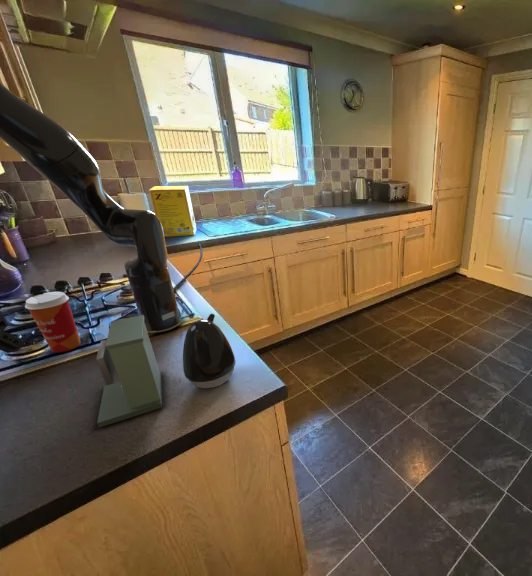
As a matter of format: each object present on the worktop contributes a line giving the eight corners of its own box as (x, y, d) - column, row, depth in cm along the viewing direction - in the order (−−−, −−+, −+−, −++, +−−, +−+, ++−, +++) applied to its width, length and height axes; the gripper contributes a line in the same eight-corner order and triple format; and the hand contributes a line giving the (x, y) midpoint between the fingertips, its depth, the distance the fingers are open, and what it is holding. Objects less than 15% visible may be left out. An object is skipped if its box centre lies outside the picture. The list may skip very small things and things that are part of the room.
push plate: (110, 365, 67) (100, 340, 64) (116, 364, 67) (107, 339, 65) (106, 385, 61) (96, 359, 59) (113, 383, 62) (103, 357, 60)
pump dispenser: (244, 365, 79) (235, 309, 73) (227, 395, 70) (214, 334, 64) (201, 365, 79) (188, 309, 73) (178, 395, 69) (160, 334, 63)
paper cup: (38, 350, 82) (15, 300, 76) (74, 335, 89) (54, 288, 83) (58, 358, 80) (35, 306, 74) (93, 342, 86) (74, 293, 81)
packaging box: (165, 230, 192) (154, 186, 182) (196, 228, 198) (187, 185, 188) (160, 237, 179) (148, 189, 168) (194, 235, 185) (184, 189, 175)
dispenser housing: (105, 389, 70) (80, 325, 64) (161, 374, 75) (143, 313, 69) (98, 427, 61) (68, 356, 55) (163, 407, 66) (142, 340, 60)
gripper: (-57, 254, 45) (63, 322, 58) (-135, 272, 46) (-1, 335, 59) (-106, 297, 40) (37, 361, 53) (-191, 316, 41) (-32, 374, 54)
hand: (17, 347), depth 56 cm, fingers closed
